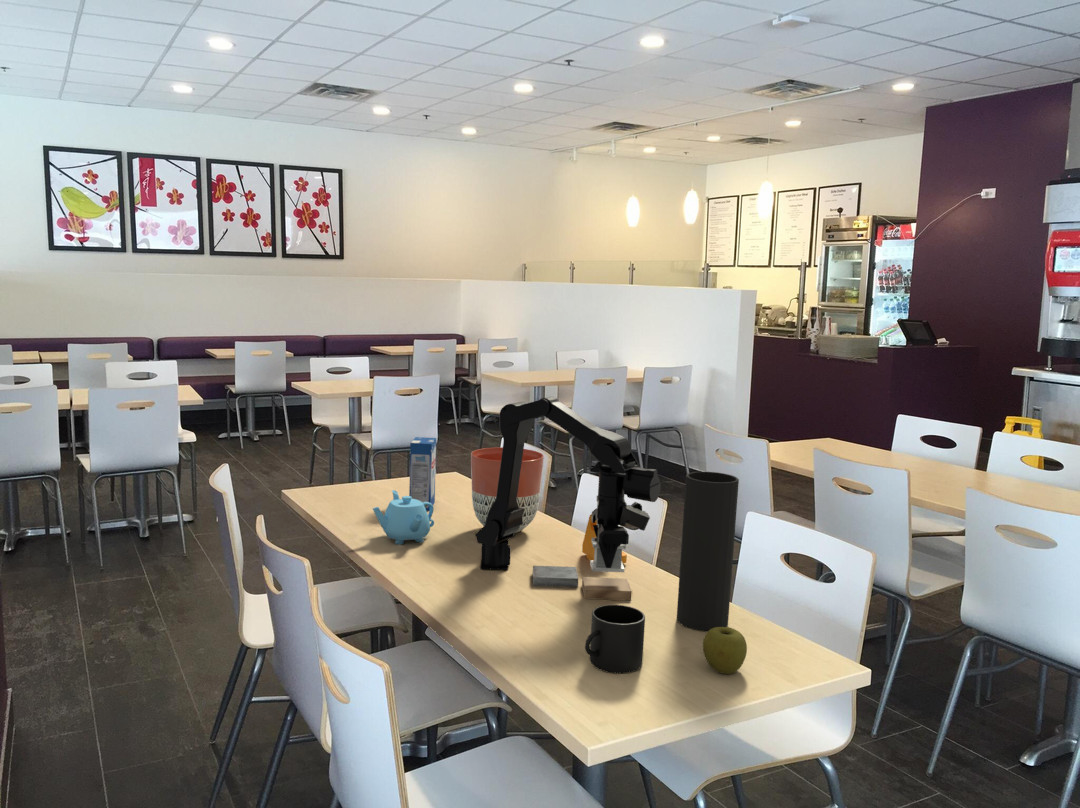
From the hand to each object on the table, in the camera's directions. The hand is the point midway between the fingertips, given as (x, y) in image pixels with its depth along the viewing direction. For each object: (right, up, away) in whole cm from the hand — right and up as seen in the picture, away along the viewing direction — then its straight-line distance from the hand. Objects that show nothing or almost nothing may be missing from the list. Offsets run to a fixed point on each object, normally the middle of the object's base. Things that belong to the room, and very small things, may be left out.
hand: (607, 563), depth 185 cm
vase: (+18, -9, -13) cm, 25 cm away
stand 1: (-11, -5, +7) cm, 14 cm away
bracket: (+1, -4, +24) cm, 24 cm away
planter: (-24, 0, +45) cm, 51 cm away
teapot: (-50, 0, +34) cm, 60 cm away
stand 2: (0, -7, +1) cm, 7 cm away
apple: (+18, -12, -35) cm, 41 cm away
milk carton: (-50, +4, +68) cm, 84 cm away
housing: (0, -1, 0) cm, 1 cm away
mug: (-2, -11, -35) cm, 37 cm away
